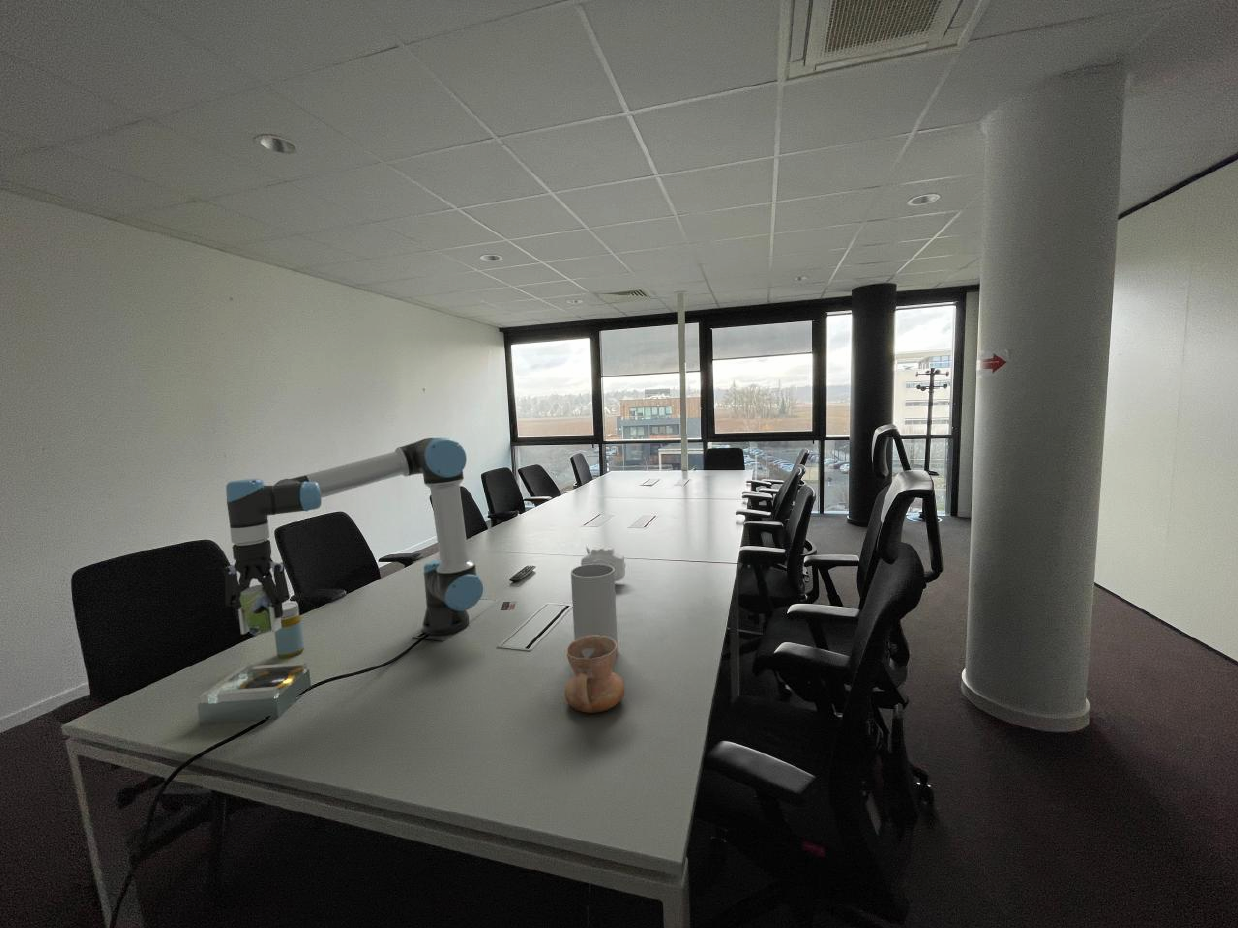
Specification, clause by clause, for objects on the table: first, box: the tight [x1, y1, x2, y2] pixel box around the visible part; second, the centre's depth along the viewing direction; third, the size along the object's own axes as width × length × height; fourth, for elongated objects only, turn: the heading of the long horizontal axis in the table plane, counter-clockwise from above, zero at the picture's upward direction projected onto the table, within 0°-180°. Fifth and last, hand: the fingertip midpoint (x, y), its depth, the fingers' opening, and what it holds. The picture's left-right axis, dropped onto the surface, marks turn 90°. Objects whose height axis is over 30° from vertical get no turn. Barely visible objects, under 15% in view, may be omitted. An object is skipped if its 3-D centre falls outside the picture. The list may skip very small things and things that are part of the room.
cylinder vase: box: [570, 564, 619, 659], centre depth 143 cm, size 12×12×25 cm
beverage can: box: [239, 584, 272, 636], centre depth 124 cm, size 6×7×12 cm
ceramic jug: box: [564, 635, 626, 714], centre depth 118 cm, size 18×14×14 cm
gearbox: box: [197, 662, 312, 725], centre depth 125 cm, size 18×14×7 cm
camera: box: [580, 545, 626, 582], centre depth 203 cm, size 11×18×16 cm, turn 80°
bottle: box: [274, 602, 305, 659], centre depth 153 cm, size 7×7×15 cm
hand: (261, 630), depth 124 cm, fingers closed on beverage can, 7 cm apart
